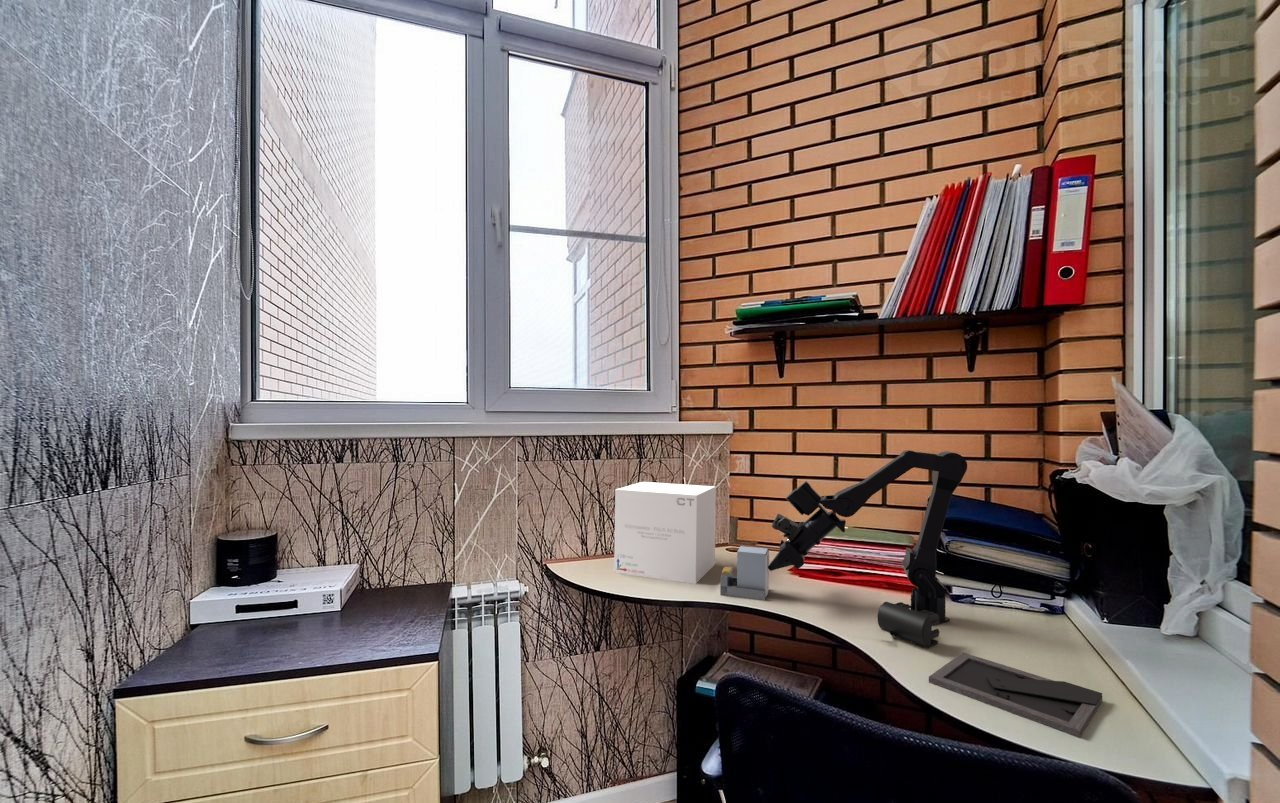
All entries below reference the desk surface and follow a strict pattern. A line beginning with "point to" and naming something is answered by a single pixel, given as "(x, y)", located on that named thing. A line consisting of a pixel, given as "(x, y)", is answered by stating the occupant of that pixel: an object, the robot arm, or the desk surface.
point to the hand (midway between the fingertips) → (769, 568)
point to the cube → (665, 531)
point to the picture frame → (1020, 693)
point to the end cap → (909, 623)
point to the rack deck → (730, 587)
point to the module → (753, 568)
